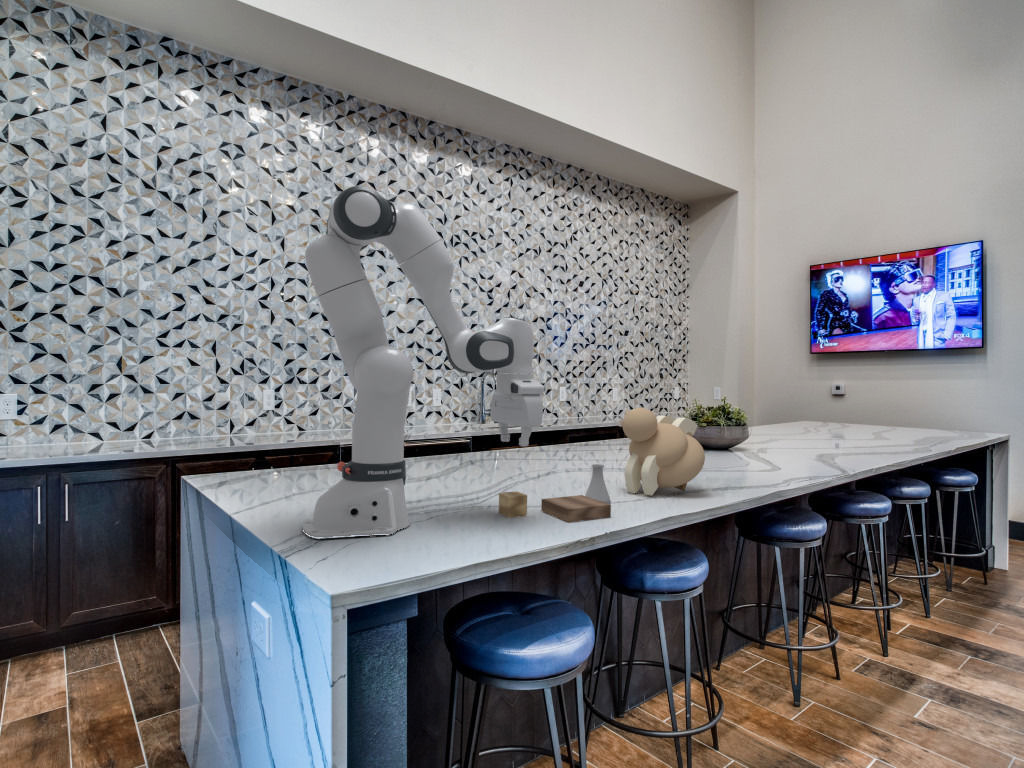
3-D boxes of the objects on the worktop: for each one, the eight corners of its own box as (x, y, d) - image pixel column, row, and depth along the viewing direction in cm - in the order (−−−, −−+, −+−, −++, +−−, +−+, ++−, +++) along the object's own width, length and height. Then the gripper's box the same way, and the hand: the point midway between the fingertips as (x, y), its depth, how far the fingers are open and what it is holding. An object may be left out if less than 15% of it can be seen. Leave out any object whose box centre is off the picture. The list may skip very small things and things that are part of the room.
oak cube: (508, 518, 136) (508, 496, 136) (498, 513, 140) (499, 492, 140) (526, 516, 138) (527, 495, 138) (516, 511, 143) (517, 491, 143)
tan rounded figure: (635, 377, 179) (702, 379, 162) (667, 442, 192) (733, 449, 175) (585, 447, 164) (653, 457, 147) (624, 511, 177) (691, 527, 160)
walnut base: (568, 522, 132) (568, 509, 132) (541, 511, 143) (541, 499, 143) (610, 517, 138) (610, 504, 138) (581, 506, 149) (581, 495, 149)
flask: (609, 499, 158) (610, 463, 158) (611, 505, 151) (612, 467, 150) (583, 498, 159) (583, 462, 158) (583, 504, 151) (584, 466, 151)
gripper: (484, 384, 147) (484, 439, 147) (523, 387, 129) (522, 449, 129) (506, 384, 150) (506, 438, 150) (548, 387, 131) (547, 448, 132)
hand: (514, 443), depth 139 cm, fingers open, 8 cm apart
